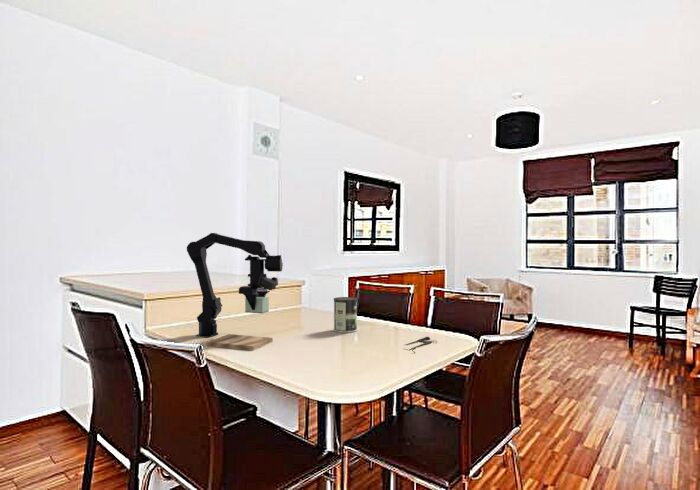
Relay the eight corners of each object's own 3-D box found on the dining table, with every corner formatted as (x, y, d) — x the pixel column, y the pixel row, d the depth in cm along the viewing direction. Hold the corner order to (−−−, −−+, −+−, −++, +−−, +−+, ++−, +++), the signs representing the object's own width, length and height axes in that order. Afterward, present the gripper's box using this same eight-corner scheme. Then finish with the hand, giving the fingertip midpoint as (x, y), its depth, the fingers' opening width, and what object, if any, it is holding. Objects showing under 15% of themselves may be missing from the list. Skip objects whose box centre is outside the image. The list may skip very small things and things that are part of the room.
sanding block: (245, 312, 177) (245, 297, 177) (251, 310, 181) (251, 296, 181) (262, 313, 174) (262, 298, 174) (268, 311, 179) (268, 297, 179)
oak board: (206, 345, 161) (206, 341, 161) (228, 337, 174) (228, 334, 174) (253, 350, 154) (253, 346, 154) (272, 341, 168) (272, 337, 167)
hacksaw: (426, 339, 174) (426, 335, 174) (448, 343, 166) (449, 340, 166) (388, 350, 157) (388, 346, 157) (411, 355, 149) (411, 351, 149)
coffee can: (357, 327, 194) (357, 296, 193) (356, 332, 183) (357, 300, 183) (334, 327, 194) (334, 296, 194) (332, 332, 184) (332, 299, 183)
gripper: (262, 273, 166) (262, 313, 166) (284, 270, 184) (284, 306, 184) (237, 272, 170) (237, 312, 170) (261, 269, 187) (261, 305, 188)
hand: (256, 309), depth 178 cm, fingers closed on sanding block, 5 cm apart
